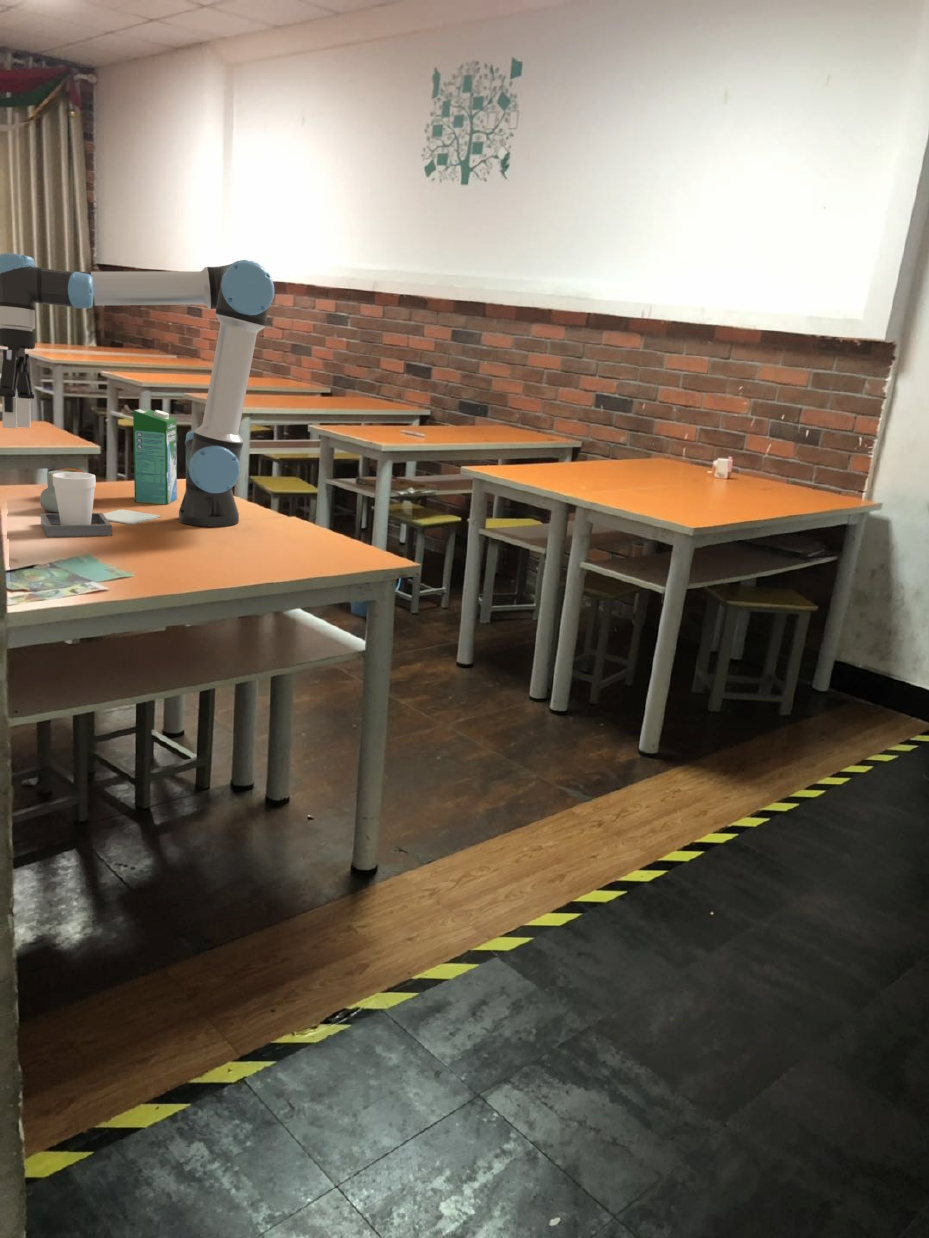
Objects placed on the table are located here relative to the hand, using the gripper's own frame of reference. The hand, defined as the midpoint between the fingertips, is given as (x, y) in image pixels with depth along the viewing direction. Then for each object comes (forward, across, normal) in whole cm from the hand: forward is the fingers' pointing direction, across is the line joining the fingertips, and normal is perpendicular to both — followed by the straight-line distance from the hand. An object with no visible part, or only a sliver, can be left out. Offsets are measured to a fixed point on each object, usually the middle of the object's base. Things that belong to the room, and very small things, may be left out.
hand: (17, 427), depth 214 cm
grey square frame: (+23, -8, +11) cm, 27 cm away
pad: (+21, -24, +21) cm, 38 cm away
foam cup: (+23, -8, +11) cm, 27 cm away
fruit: (+20, -45, +4) cm, 49 cm away
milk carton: (+19, -48, +26) cm, 57 cm away
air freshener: (+21, -29, +4) cm, 36 cm away
